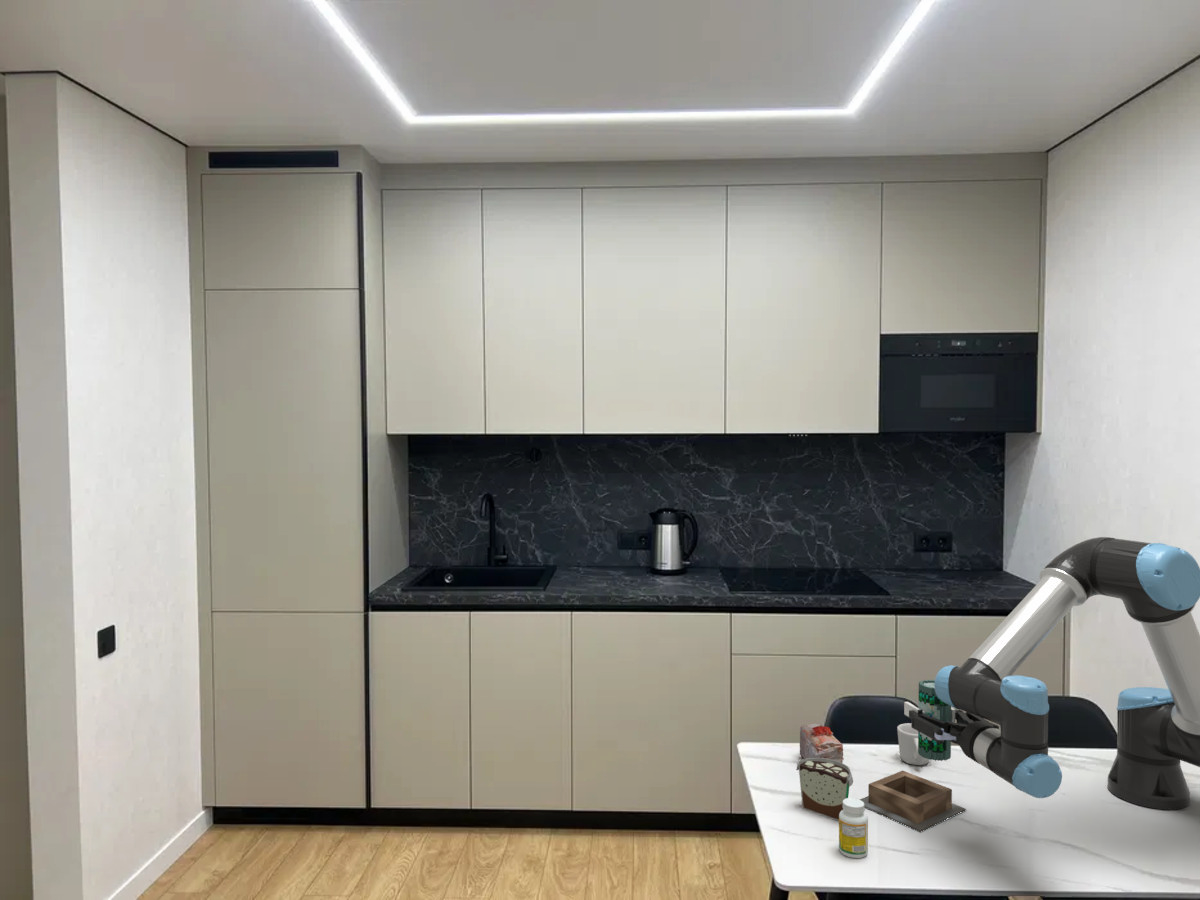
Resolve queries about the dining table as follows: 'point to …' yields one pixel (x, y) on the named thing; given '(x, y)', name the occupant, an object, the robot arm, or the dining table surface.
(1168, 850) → the dining table surface
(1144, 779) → the robot arm
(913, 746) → the cup
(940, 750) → the can
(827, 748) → the food item
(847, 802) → the supplement bottle
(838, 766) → the food container
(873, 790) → the holder
